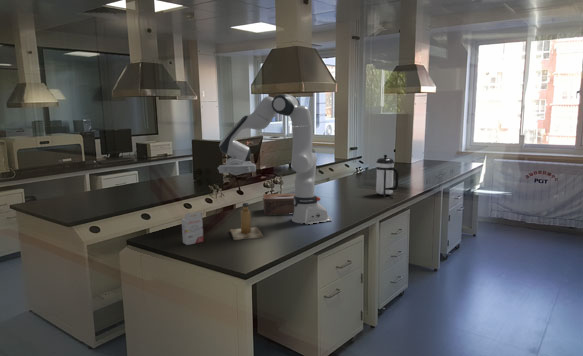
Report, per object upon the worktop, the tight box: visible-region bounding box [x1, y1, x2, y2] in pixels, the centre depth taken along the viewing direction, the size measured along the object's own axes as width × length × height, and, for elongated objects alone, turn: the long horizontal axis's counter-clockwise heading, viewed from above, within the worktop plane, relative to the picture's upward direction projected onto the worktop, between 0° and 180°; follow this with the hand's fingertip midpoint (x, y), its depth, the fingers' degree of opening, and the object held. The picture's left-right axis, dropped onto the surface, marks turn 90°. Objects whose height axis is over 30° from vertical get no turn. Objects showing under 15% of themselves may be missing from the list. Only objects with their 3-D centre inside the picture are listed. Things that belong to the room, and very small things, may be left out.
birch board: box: [230, 226, 263, 241], centre depth 201 cm, size 14×14×1 cm
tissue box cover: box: [263, 193, 295, 216], centre depth 247 cm, size 26×14×10 cm, turn 97°
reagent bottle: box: [240, 202, 252, 234], centre depth 199 cm, size 5×5×15 cm
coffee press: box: [374, 154, 399, 196], centre depth 294 cm, size 17×16×30 cm
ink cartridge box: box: [181, 211, 204, 246], centre depth 188 cm, size 9×5×15 cm, turn 126°
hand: (239, 170), depth 213 cm, fingers open, 8 cm apart
